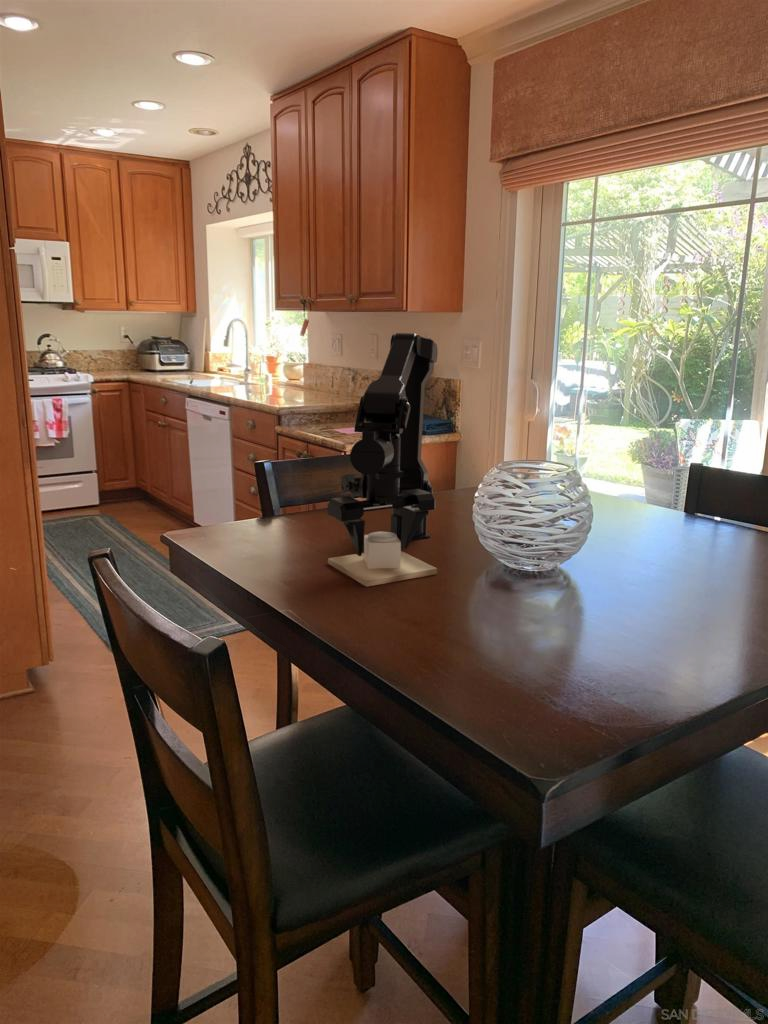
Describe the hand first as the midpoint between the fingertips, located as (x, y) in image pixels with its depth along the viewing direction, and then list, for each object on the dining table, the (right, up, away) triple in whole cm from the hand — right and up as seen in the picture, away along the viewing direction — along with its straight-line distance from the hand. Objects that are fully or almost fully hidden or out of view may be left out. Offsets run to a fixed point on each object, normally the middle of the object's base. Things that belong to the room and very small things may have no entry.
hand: (381, 551), depth 132 cm
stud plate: (0, -3, +1) cm, 3 cm away
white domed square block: (0, -2, 0) cm, 2 cm away
